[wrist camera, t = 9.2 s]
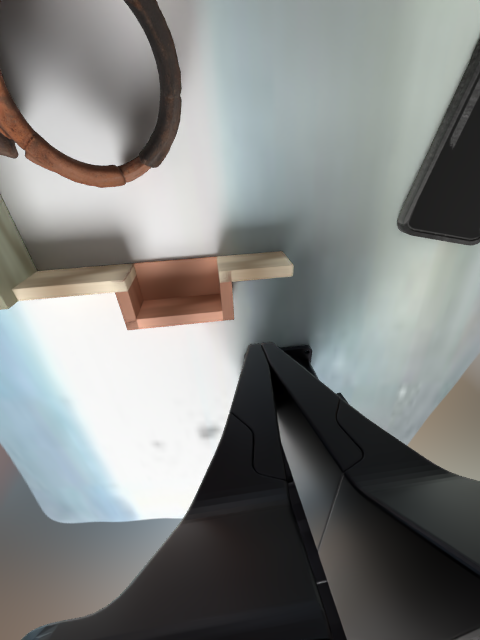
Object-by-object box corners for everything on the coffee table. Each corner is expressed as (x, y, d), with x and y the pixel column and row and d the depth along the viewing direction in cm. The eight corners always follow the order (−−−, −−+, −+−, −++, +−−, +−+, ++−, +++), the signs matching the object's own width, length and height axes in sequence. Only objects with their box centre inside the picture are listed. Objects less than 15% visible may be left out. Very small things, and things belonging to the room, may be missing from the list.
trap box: (304, -229, 10) (356, -421, 7) (279, 295, 22) (293, 320, 19) (-253, -270, 8) (-548, -544, 5) (48, 317, 21) (19, 349, 17)
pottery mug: (41, -156, 10) (89, -267, 6) (169, 108, 18) (230, 143, 14) (-210, 23, 10) (-350, 43, 6) (32, 213, 18) (50, 282, 14)
